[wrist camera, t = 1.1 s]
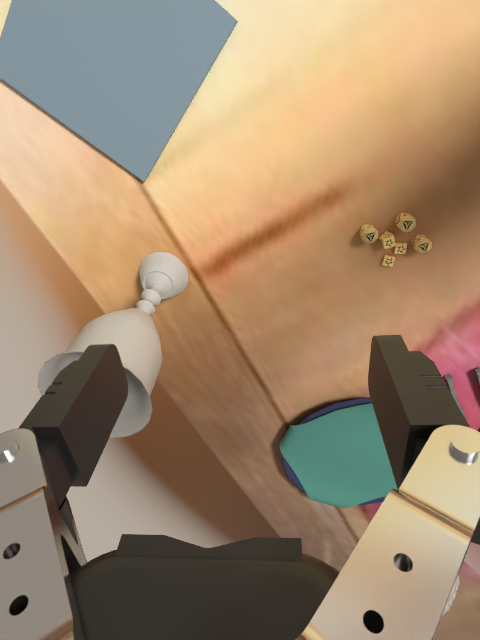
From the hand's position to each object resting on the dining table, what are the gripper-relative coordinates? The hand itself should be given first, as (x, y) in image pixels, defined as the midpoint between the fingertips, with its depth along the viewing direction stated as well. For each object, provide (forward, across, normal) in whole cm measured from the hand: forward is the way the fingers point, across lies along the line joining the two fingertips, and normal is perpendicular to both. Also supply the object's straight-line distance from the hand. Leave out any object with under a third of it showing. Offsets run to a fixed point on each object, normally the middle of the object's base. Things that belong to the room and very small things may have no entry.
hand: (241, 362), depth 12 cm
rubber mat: (+26, +11, -11) cm, 30 cm away
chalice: (+26, +11, +8) cm, 29 cm away
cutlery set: (+26, -15, +32) cm, 45 cm away
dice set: (+27, -12, +6) cm, 30 cm away
